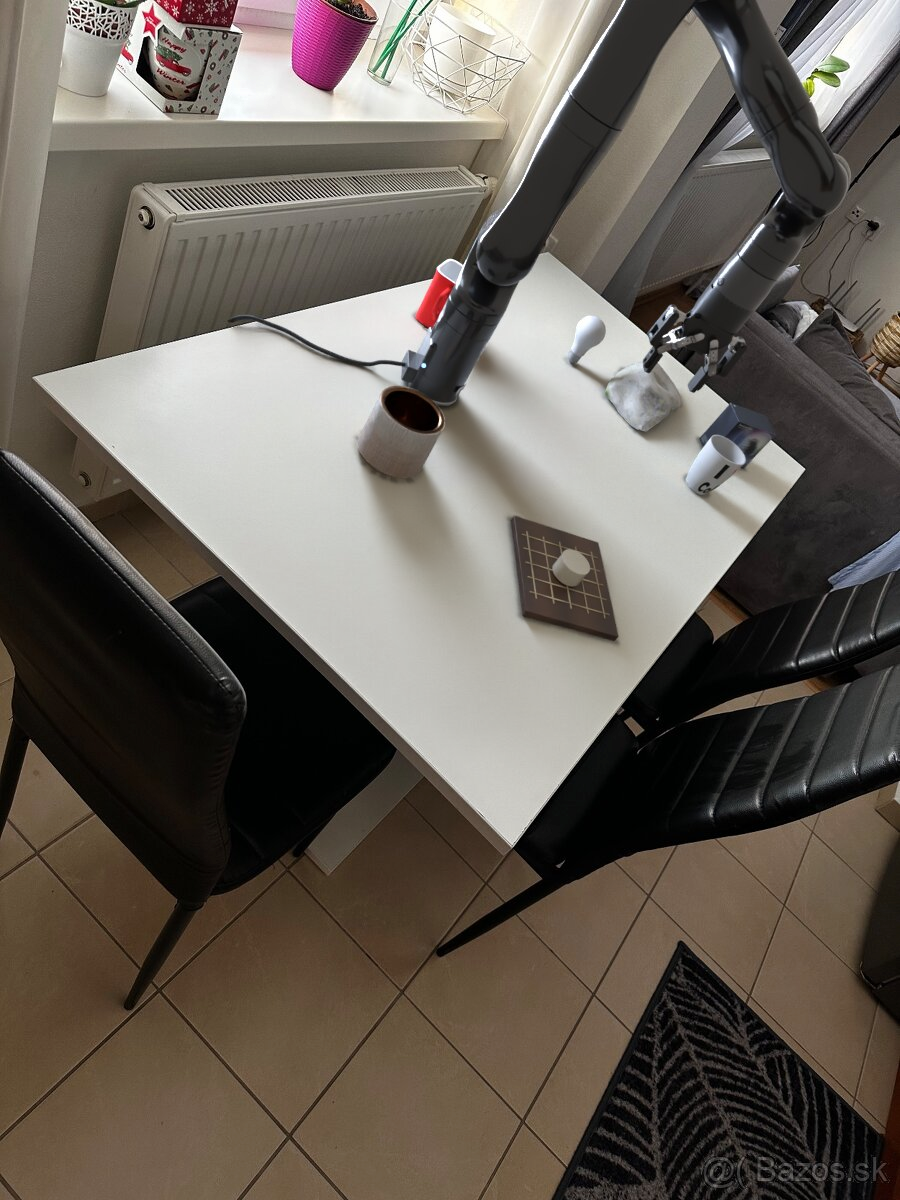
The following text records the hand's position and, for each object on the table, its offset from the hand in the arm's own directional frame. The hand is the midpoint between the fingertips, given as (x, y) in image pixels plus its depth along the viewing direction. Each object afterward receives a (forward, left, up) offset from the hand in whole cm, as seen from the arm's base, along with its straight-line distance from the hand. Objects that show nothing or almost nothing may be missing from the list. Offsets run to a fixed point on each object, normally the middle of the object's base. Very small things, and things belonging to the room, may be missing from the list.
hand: (668, 379), depth 133 cm
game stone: (-7, -23, -25) cm, 34 cm away
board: (-7, -23, -26) cm, 35 cm away
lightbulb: (+5, +43, -26) cm, 51 cm away
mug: (-27, +36, -26) cm, 53 cm away
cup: (+30, +15, -26) cm, 43 cm away
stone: (+22, +40, -26) cm, 53 cm away
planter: (-36, -7, -26) cm, 45 cm away
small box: (+41, +30, -26) cm, 57 cm away
